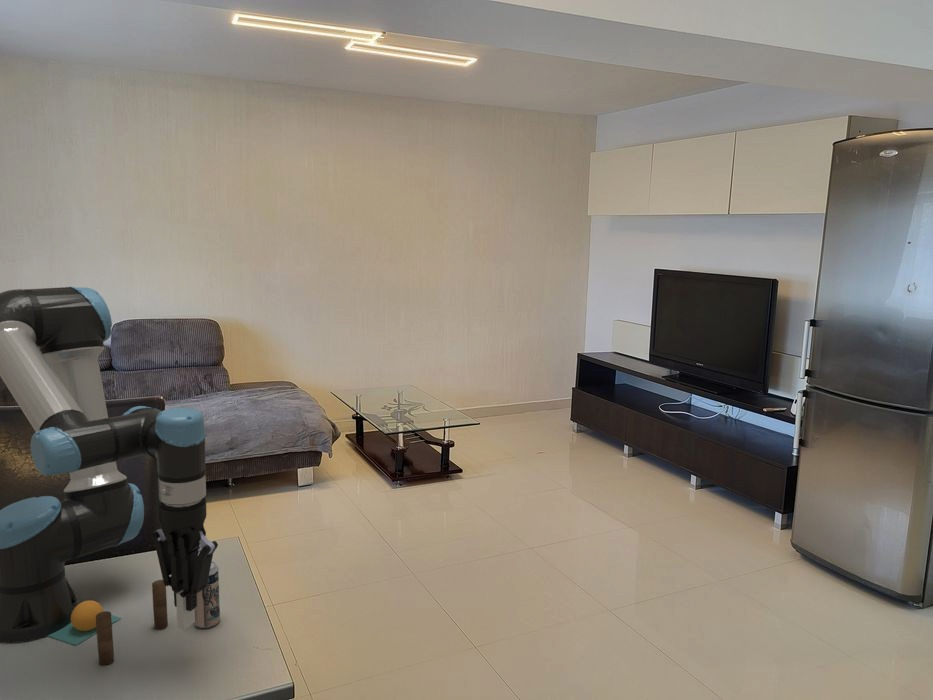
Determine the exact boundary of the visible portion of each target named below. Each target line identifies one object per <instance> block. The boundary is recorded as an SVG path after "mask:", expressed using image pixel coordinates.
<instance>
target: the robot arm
mask: <svg viewBox="0 0 933 700" xmlns="http://www.w3.org/2000/svg"><path fill="white" fill-rule="evenodd" d="M112 327H113V320H112V316H111V313H110V310H109V306H108V304H107V303H106V301H105V300H104V298H103V296H102V295H101V294H100V293H99V292H98V291H96V290H94V289H93V288H90V287H76V286H65V287H63V286H62V287H48V288H47V287H46V288H45V287H44V288H30V289H29V288H27V289H26V288H25V289H21V288H19V289H10V290H5V291H2V292H0V378H1V379H2V381H3V382H4V384H5V386H6V388H7V389H8V391H9V392H10V394H11V395H12V396H13V399H14V400H15V402H16V403H17V405H18V406H19V408H20V409H21V411H22V413H23V414H24V415H25V417H26V419H27V420H28V422H29V424H30V425H31V427H32V429H33V430H34V434H33V435H32V437H31V439H30V455H31V458H32V460H33V464H34V468H35V469H36V470H37V471H38V473H40V475H41V474H42V475H43V476H55V475H62V474H69V478H70V480H69V482H68V484H67V486H66V487H65V488H64V489H63V494H64V495H63V496H64V500H61V501H60V499H59V498H57V497H55V496H51V495H43V496H38V497H36V496H33V497H28V498H25V499H22V500H19V501H16V502H13V503H11V504H8V505H7V506H5V507H3V508H1V509H0V642H1V643H22V642H28V641H34V640H37V639H38V640H39V639H40V638H43V637H48V636H47V635H50V634H52V633H54V632H57V631H59V630H60V629H62V628H64V627H65V626H67V625H68V624H70V623H71V614H72V611H73V610H74V608H75V607H76V606H77V605H78V604H79V603H78V598H77V596H76V595H75V592H74V590H73V588H72V587H71V584H70V583H69V580H68V577H66V567H65V563H66V562H67V561H70V560H71V561H72V560H74V559H77V558H81V557H84V556H86V555H89V554H92V553H96V552H99V551H102V550H105V549H109V548H111V547H112V548H115V547H118V546H120V545H121V544H123V543H127V542H129V541H132V540H133V539H135V537H137V536H138V534H139V533H140V531H141V529H142V527H143V524H144V517H145V505H144V504H145V503H144V499H143V495H142V494H140V493H141V491H140V489H139V487H138V486H137V485H135V484H134V483H129V481H128V476H126V475H125V474H123V473H121V472H120V471H119V470H118V465H117V462H120V461H123V460H128V459H132V458H136V457H141V456H147V455H148V456H150V457H151V458H154V459H156V464H157V465H156V466H157V480H158V481H157V486H158V499H159V503H158V517H159V518H158V519H159V523H160V525H161V528H159V529H156V530H154V531H153V532H151V533H150V538H151V540H152V542H153V544H154V545H155V551H156V554H157V559H158V564H159V568H160V573H161V577H162V580H163V582H164V585H165V586H166V587H168V586H169V587H170V588H171V590H172V592H173V597H174V599H173V604H174V607H175V608H176V626H177V628H178V629H181V630H186V629H187V628H188V627H190V626H191V625H194V622H195V608H196V607H197V593H199V592H200V591H202V590H203V589H205V588H206V587H207V582H208V577H209V572H210V567H211V562H213V557H214V553H215V551H216V549H217V548H218V546H219V544H218V542H217V541H216V540H213V541H210V539H209V538H207V537H206V536H207V531H206V529H205V527H204V524H205V521H206V519H207V499H206V496H207V482H206V480H207V479H206V478H207V477H206V435H207V433H206V429H205V421H204V420H205V418H204V415H203V413H202V412H201V410H198V409H197V408H188V407H174V408H167V409H165V410H162V411H161V410H160V409H158V408H153V407H152V406H151V407H149V406H144V405H137V406H133V407H131V408H130V409H128V410H127V411H126V412H124V413H123V414H122V415H118V416H112V417H109V416H108V415H109V414H108V408H107V404H106V398H105V397H106V396H105V392H104V386H103V381H102V379H103V378H102V375H101V368H100V363H99V356H100V355H101V353H102V352H103V351H104V350H105V344H104V342H106V341H108V340H109V339H110V337H111V335H112V332H113V331H112Z"/></svg>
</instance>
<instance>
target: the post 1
mask: <svg viewBox="0 0 933 700" xmlns="http://www.w3.org/2000/svg"><path fill="white" fill-rule="evenodd" d="M111 615H112V612H111V611H106V610H105V611H104V610H103V612H100V613H98V614H97V615H96V628H97V634H96V640H97V642H96V643H97V653H98V654H97V655H98V666H101V667H106V665H107V666H110V665H112V664H113V663H114V662H115V653H114V637H113V624H112V619H111Z"/></svg>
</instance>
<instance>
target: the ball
mask: <svg viewBox="0 0 933 700" xmlns="http://www.w3.org/2000/svg"><path fill="white" fill-rule="evenodd" d="M100 612H104V608H103V607H102V605H101V604H100V603H99V602H97V601H95V600H84V601H82V602H80V603H78V605H77V606H76V607H75V608H74V610H73V611H72V614H71V623H72V625H73V627H74V628H76V629H77V630H79V631H90V630H92V629H94V628H96V615H97V614H98V613H100Z"/></svg>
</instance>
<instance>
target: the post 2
mask: <svg viewBox="0 0 933 700" xmlns="http://www.w3.org/2000/svg"><path fill="white" fill-rule="evenodd" d="M151 590H152V608H153V609H152V610H153V626H154V629H155V630H157V631H158V630H160V631H161V630H164V629H166V628H167V627H168V626H169V623H168V622H169V621H168V620H169V619H168V605H167V604H168V601H167V598H168V597H167V586H165V585H164V582H163V579H158V580H155V581H153V582H152V583H151Z"/></svg>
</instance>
